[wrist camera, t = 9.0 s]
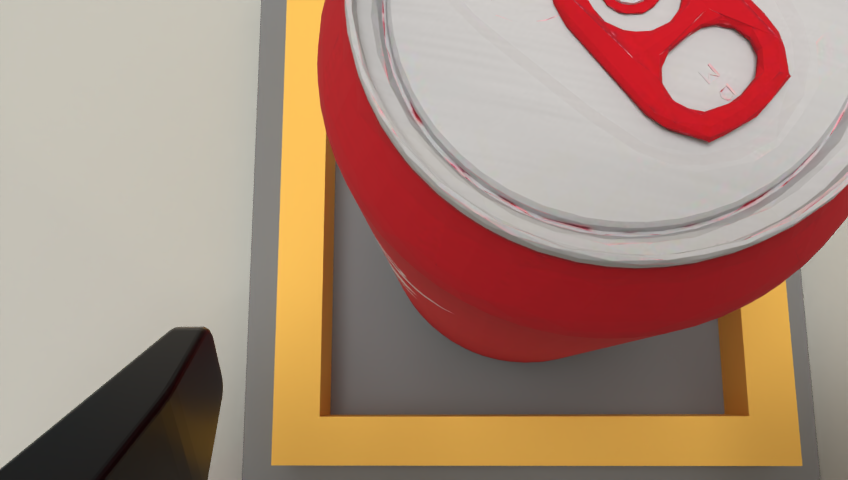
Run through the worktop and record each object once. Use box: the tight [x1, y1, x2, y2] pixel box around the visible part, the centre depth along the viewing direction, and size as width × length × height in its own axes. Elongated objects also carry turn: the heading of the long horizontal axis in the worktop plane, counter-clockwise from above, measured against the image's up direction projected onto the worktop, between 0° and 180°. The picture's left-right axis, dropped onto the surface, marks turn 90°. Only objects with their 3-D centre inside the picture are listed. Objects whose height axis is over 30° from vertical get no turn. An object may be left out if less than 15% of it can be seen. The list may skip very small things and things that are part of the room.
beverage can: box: [317, 0, 848, 363], centre depth 13 cm, size 6×6×12 cm
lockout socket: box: [242, 0, 820, 480], centre depth 18 cm, size 13×13×2 cm
